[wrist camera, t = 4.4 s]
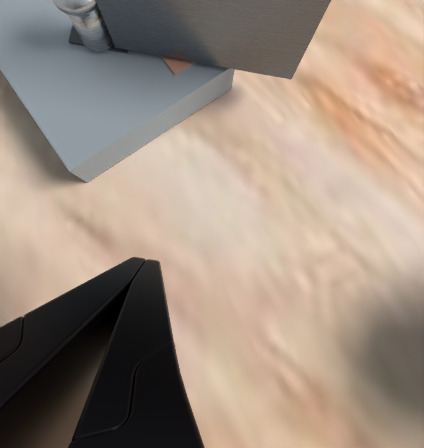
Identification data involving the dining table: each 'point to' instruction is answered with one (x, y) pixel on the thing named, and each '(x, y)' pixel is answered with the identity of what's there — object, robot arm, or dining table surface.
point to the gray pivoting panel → (203, 30)
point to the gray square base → (96, 87)
